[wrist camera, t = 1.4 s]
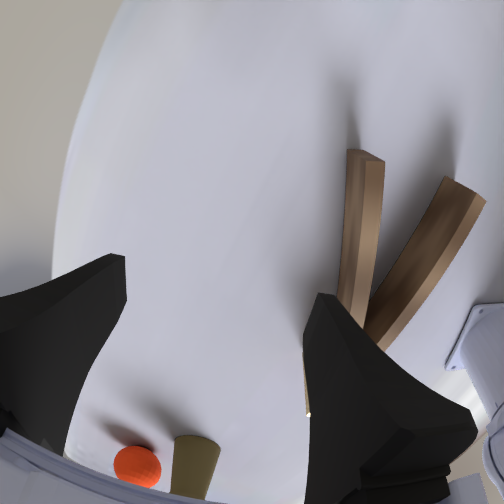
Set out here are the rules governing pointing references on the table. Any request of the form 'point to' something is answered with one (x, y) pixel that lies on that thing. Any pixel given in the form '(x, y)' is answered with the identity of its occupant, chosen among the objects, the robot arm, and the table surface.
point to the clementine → (137, 466)
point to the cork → (193, 466)
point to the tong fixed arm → (422, 261)
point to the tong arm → (360, 230)
